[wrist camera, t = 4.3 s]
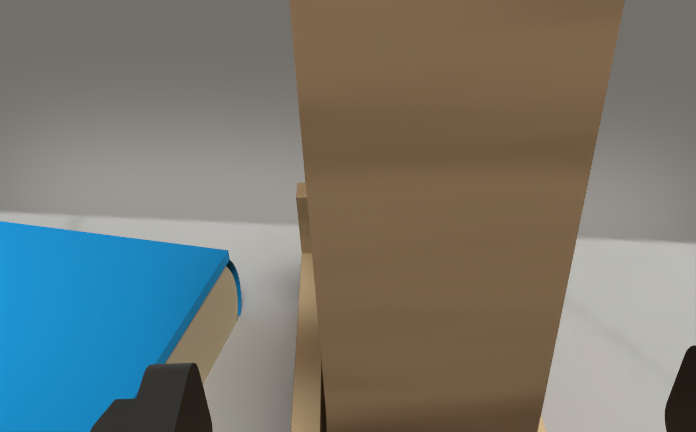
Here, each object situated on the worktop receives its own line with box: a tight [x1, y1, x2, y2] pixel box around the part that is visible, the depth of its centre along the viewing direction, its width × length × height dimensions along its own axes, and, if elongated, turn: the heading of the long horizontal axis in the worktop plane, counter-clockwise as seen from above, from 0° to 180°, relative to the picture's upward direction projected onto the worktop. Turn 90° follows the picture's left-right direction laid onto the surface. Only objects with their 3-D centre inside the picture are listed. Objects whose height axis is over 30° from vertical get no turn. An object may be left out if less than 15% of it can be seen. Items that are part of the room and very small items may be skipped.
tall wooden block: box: [289, 0, 625, 432], centre depth 14 cm, size 6×4×16 cm, turn 1°
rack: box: [291, 183, 546, 432], centre depth 20 cm, size 13×7×6 cm, turn 1°
